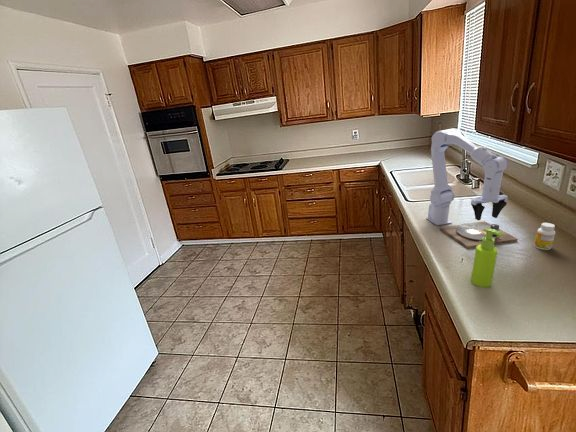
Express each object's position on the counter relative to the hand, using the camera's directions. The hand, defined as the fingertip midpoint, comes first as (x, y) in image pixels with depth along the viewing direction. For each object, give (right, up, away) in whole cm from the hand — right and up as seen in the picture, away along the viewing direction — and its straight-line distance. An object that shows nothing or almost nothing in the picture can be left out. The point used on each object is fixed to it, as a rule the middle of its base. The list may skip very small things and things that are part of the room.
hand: (486, 218), depth 126 cm
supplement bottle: (+18, -12, -7) cm, 22 cm away
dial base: (0, -8, +6) cm, 10 cm away
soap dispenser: (-17, -22, -24) cm, 37 cm away
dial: (0, -6, +6) cm, 8 cm away
